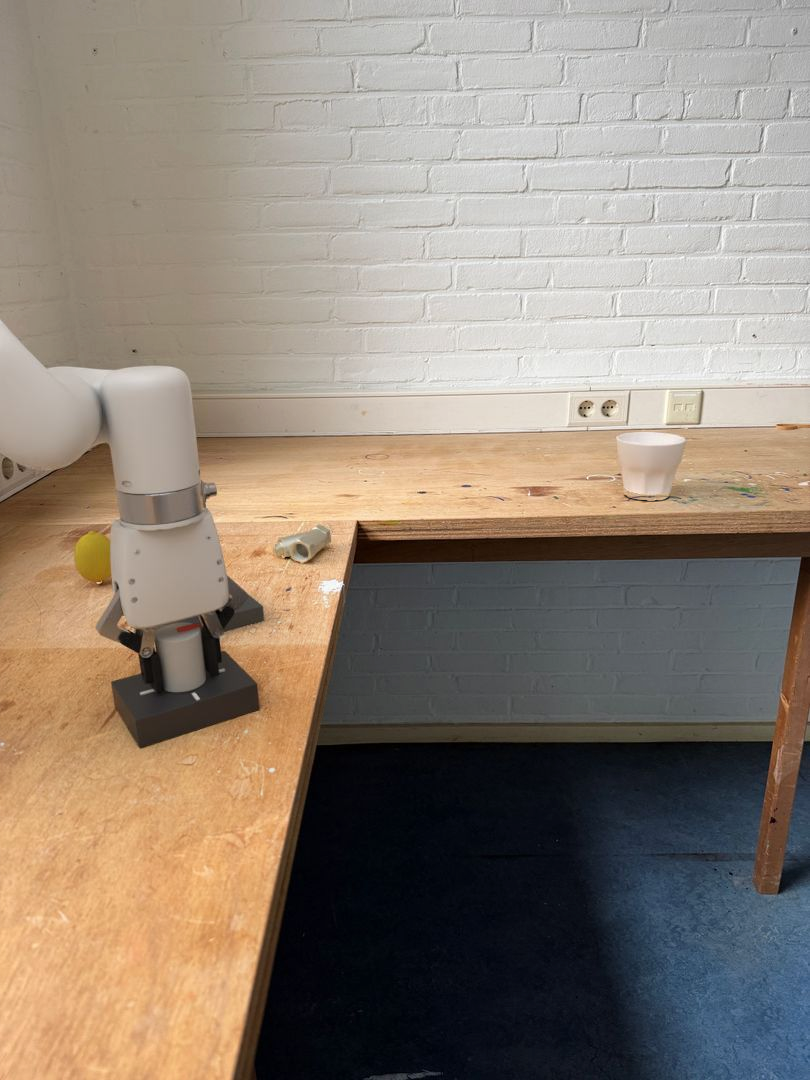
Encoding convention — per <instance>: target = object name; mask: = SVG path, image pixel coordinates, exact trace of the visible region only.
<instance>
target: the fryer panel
mask: <svg viewBox="0 0 810 1080" xmlns="http://www.w3.org/2000/svg"><path fill="white" fill-rule="evenodd" d="M221 655H222V662H221V663H218V666H219V675H217V676H211V675H210V674H209V673H208V672H207V671H206V669H205V673H206V681H205V682H204V684H203V685H201V686H200V687H198V688H196V689H194V690H191V691H186V692H177V693H176V692H168V691H166V690H163V691H162V692H161V693H156V692H155V691H154V689H153V688H152V687H151V685H150V684H145V683H144V682H143V679H142V676H141V672H140V673H137V674H134V675H130V676H126V677H123V678H119V679H115V680H112V681H110V684H111V692H112V698H113V703H114V704H113V705H114V708H115V710H116V711H117V713H118V715H119V716H120V718H121V720H122V721H123V723H124V725H125V726H126V728H127V730H128V731H129V733H130V735H131V736H132V738H133V740H134V741H135V743H136V744H137V747H138V748H139V749H142V748H145V747H149V746H151V745H155V744H157V743H160V742H163V741H167V740H170V739H173V738H177V737H179V736H182V735H185V734H188V733H192V732H194V731H195V732H196V731H198V730H201V729H204V728H208V727H210V726H213V725H217V724H219V723H223V722H225V721H229V720H232V719H235V718H238V717H242V716H244V715H247V714H250V713H254V712H256V711H259V710H260V698H259V688H258V687H259V686H258V682H257V681H256V680H254V678H253V677H252V676H251V675H250V674H248V672H246V670H245V669H244V668H243V667H241V665H240V664H239V663H237V661H236V660H235V659H233V657H232V656H231V655H230V654H228V652H226V650H221Z"/></svg>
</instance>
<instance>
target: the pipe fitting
mask: <svg viewBox="0 0 810 1080" xmlns="http://www.w3.org/2000/svg"><path fill="white" fill-rule="evenodd" d="M331 543H332V533H331V530H330V529H328V528H327V527H325V526H324V525H323V524H317V525H316V526H314V527H313V528H311V529H310V530H307V531H304V532H300V533H295V534H291V535H287V536H282V537H278V539H277V543H275V544H274V546H273V548H272V551H273V553H274V554H276V555H277V556H278V555H279V556H281V555H283V556H284V557H290V556H291V557H290V559H291V560H293V561H294V562H296V561H301V562H305V563H307V562H308V561H309V560H311V559H312V558H314V557H315V556H316V554H317V553H318V552H319V551H321V550H322V549H324V548H326V547H328V546H329V545H330V544H331Z"/></svg>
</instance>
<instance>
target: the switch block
mask: <svg viewBox="0 0 810 1080" xmlns="http://www.w3.org/2000/svg"><path fill="white" fill-rule="evenodd" d="M264 614H265V613H264V605H262V604H261V603H260V602H258V600H256V599H255V598H254V597H252V596H251V595H250V594H248V598H247V600H246V601H245V602H244V603H243V604H242V605H241V606H240V607H239V608H238V610H236V611H235V612H234V615H233V617H232V618H231V620H230V621H229V622H228V624H227V625H226V627H225V628H224V629H223V631H224V633H225V632H229V631H233V630H236V629H237V630H238V629H240V628H244V626H245V627H248V626H247V625H249V626H252V625H256V624H259V622H260V623H263V622H262V621H264V622H265V615H264ZM175 623H193V624H194V623H198V624H199V626H200V629H201V630H202V627H203V626H202V624H201V621H200V619H199V617H198V616H195V617H191V618H187V619H183V620H180V621H176V622H172V623H168V624H164V625H160V626H157V630H158V629H160V628H162V627H164V626H167V625H170V624H175ZM255 623H256V624H255ZM251 624H252V625H251Z"/></svg>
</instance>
